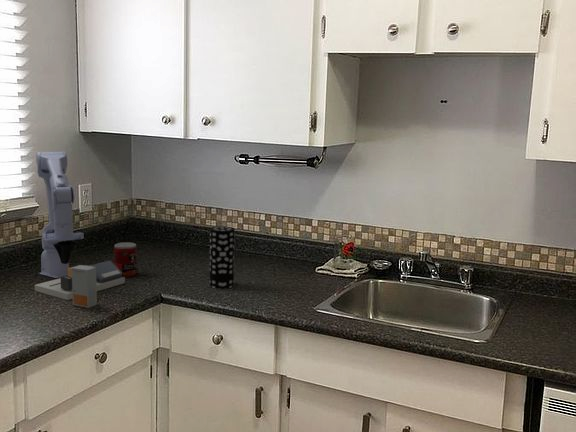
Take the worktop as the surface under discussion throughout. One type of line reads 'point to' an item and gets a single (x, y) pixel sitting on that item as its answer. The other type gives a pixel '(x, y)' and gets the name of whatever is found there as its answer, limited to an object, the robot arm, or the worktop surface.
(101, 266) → the rocker
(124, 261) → the canned food
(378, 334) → the worktop surface
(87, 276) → the skincare box
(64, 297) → the panel
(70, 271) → the orange fader knob
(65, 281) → the black fader knob
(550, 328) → the worktop surface
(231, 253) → the white-spotted black cylinder
